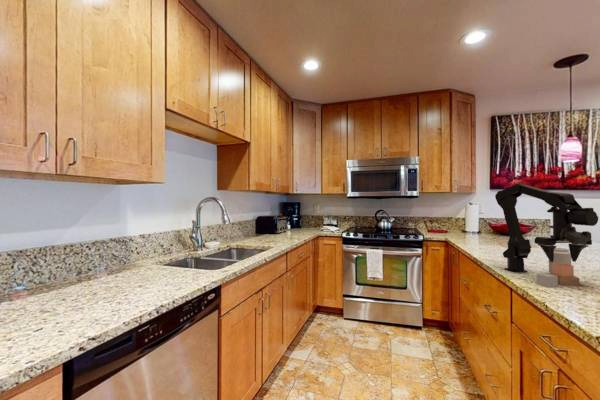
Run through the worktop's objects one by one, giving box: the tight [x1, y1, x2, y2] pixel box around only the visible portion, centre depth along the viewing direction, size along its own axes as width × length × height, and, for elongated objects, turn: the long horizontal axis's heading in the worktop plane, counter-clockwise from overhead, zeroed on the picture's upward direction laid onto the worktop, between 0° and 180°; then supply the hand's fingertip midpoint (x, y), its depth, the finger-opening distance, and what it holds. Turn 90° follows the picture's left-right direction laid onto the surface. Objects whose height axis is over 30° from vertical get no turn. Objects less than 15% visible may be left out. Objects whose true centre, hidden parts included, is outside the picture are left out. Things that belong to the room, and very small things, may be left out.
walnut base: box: [547, 272, 580, 287], centre depth 114 cm, size 7×7×4 cm
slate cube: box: [536, 272, 559, 289], centre depth 111 cm, size 4×4×4 cm
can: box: [548, 247, 572, 273], centre depth 126 cm, size 8×8×12 cm
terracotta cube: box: [552, 263, 575, 277], centre depth 114 cm, size 4×4×4 cm
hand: (562, 261), depth 114 cm, fingers open, 9 cm apart
